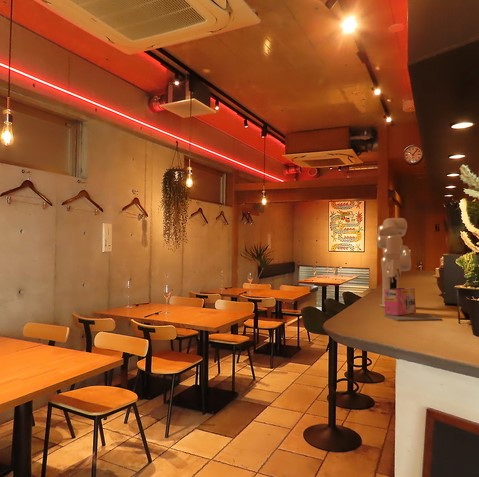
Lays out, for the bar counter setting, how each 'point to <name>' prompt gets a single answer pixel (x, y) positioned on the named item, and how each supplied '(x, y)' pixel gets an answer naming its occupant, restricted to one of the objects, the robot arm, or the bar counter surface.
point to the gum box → (399, 301)
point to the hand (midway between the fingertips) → (393, 289)
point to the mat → (413, 317)
